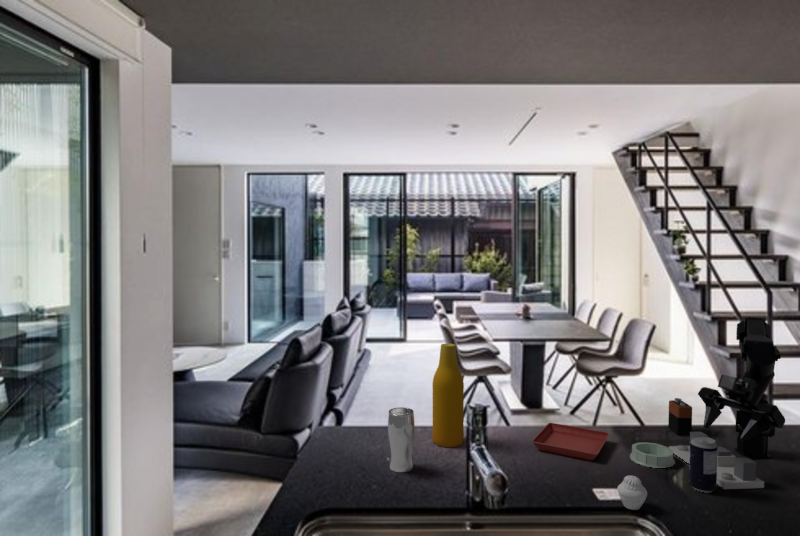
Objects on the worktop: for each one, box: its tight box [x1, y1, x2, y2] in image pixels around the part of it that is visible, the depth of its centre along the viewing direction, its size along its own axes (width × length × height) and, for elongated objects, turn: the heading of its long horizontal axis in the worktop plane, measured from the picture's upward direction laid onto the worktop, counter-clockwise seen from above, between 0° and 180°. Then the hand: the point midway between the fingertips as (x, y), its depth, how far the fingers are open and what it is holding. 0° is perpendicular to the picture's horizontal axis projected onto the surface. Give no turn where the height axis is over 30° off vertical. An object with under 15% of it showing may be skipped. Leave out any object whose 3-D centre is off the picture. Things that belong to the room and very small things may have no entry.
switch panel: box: [668, 431, 765, 490], centre depth 138 cm, size 23×10×6 cm, turn 4°
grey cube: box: [717, 446, 732, 456], centre depth 138 cm, size 3×3×3 cm
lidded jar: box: [617, 475, 648, 511], centre depth 118 cm, size 6×6×7 cm
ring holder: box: [629, 442, 676, 469], centre depth 143 cm, size 11×11×3 cm
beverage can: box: [688, 436, 718, 494], centre depth 126 cm, size 6×6×12 cm
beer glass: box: [387, 407, 415, 473], centre depth 139 cm, size 7×7×15 cm
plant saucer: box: [531, 422, 610, 461], centre depth 153 cm, size 18×18×3 cm
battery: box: [667, 397, 693, 436], centre depth 164 cm, size 4×7×10 cm, turn 176°
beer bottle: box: [431, 343, 465, 448], centre depth 156 cm, size 9×9×29 cm
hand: (722, 433), depth 128 cm, fingers open, 9 cm apart
